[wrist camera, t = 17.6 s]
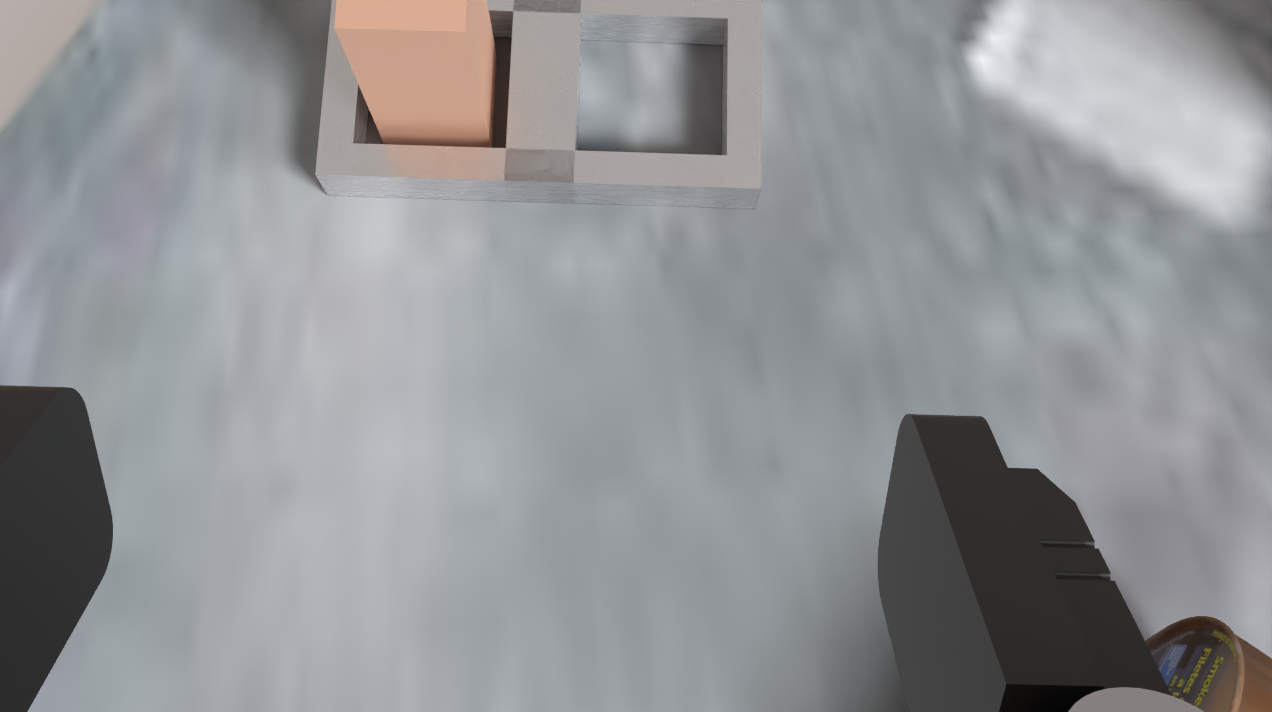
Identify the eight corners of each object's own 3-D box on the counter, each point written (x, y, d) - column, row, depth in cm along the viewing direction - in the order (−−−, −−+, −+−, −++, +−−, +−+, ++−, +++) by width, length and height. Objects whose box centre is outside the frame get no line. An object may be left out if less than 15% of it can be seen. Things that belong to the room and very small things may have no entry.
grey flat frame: (754, 16, 47) (761, -11, 45) (754, 208, 45) (761, 188, 44) (345, 2, 47) (334, -26, 45) (327, 195, 45) (315, 174, 43)
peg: (392, 52, 47) (344, -87, 38) (496, 55, 47) (471, -84, 38) (386, 148, 46) (334, 28, 37) (492, 151, 46) (465, 31, 37)
